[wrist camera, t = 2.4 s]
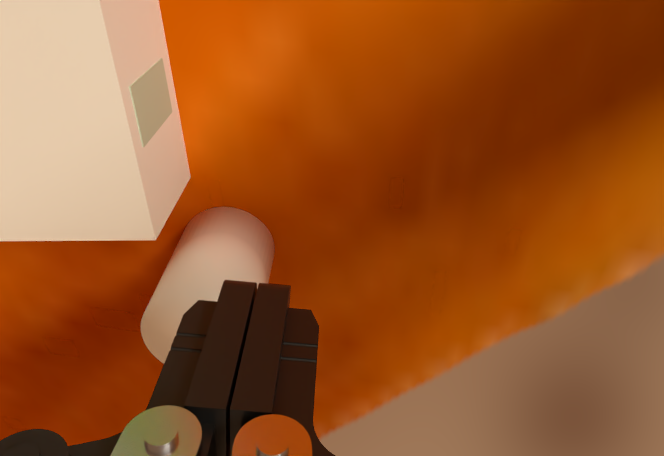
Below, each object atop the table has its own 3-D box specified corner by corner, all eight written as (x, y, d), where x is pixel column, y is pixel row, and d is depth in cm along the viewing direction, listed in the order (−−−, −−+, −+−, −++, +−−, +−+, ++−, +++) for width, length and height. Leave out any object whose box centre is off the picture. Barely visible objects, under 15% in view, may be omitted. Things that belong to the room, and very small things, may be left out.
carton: (153, -44, 22) (94, -25, 17) (192, 175, 27) (156, 240, 22) (-39, -39, 22) (-153, -19, 17) (36, 177, 28) (-34, 241, 23)
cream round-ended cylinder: (276, 211, 28) (257, 297, 22) (272, 286, 31) (254, 380, 25) (180, 202, 28) (135, 285, 22) (185, 278, 31) (145, 371, 25)
